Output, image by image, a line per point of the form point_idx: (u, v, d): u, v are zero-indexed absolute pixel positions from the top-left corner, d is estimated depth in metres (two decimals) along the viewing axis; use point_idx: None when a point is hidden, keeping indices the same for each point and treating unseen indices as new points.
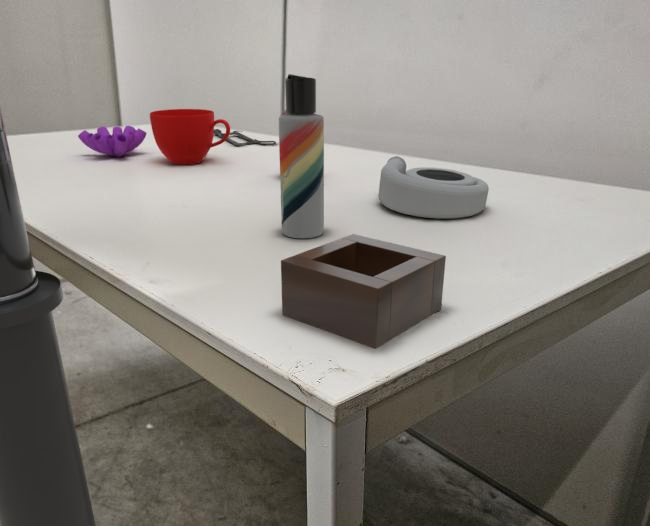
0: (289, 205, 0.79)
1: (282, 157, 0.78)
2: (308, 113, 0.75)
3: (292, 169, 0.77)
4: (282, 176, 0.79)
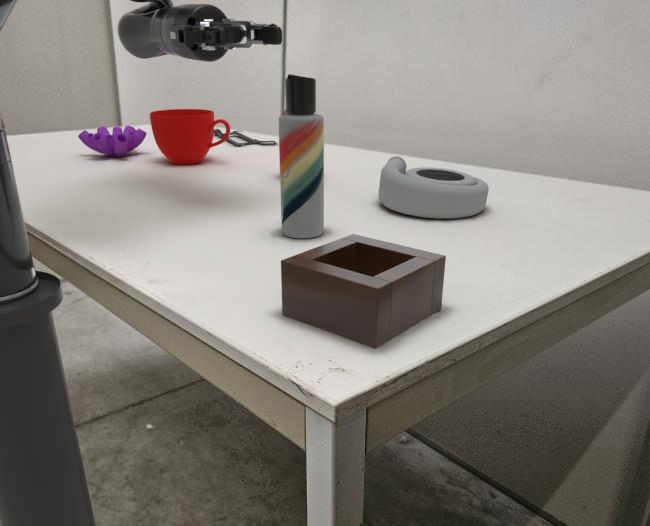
0: (289, 205, 0.79)
1: (282, 157, 0.78)
2: (308, 113, 0.75)
3: (292, 169, 0.77)
4: (282, 176, 0.79)
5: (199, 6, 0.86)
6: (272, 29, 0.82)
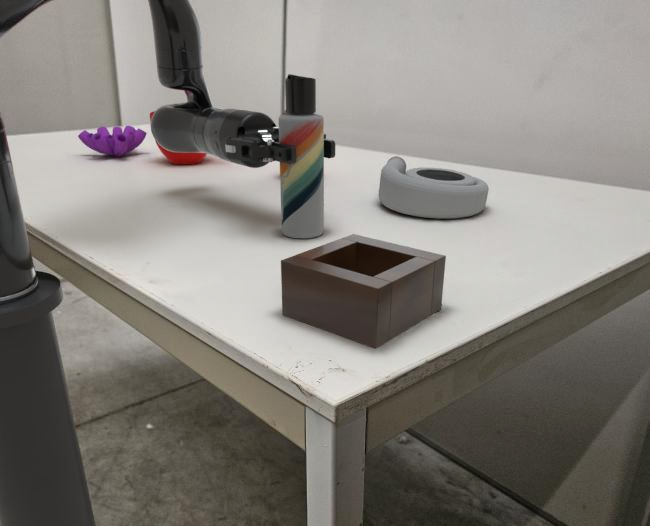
0: (289, 205, 0.79)
1: None
2: (308, 113, 0.75)
3: (292, 169, 0.77)
4: (282, 177, 0.79)
5: (249, 115, 0.83)
6: (325, 142, 0.79)
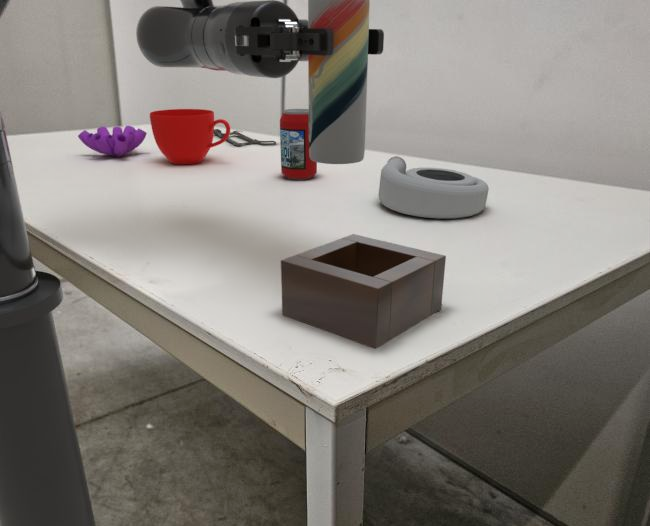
0: (321, 117, 0.59)
1: None
2: None
3: (326, 65, 0.57)
4: (312, 78, 0.58)
5: (265, 2, 0.63)
6: (370, 33, 0.59)
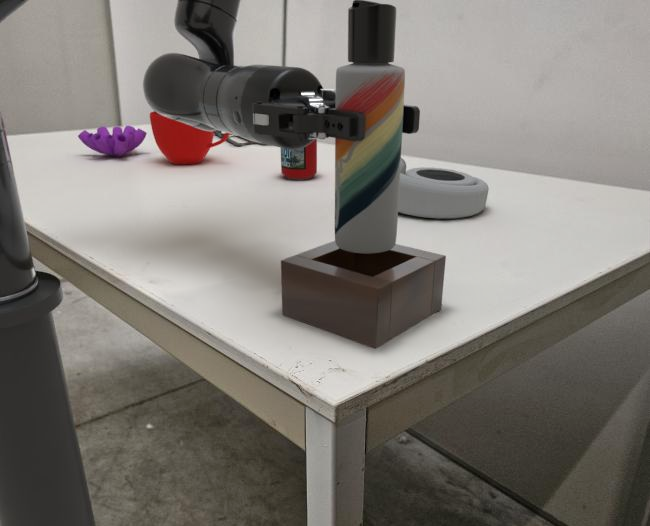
0: (349, 204, 0.53)
1: None
2: (384, 62, 0.49)
3: (356, 149, 0.51)
4: (339, 161, 0.52)
5: (286, 71, 0.57)
6: (404, 110, 0.52)
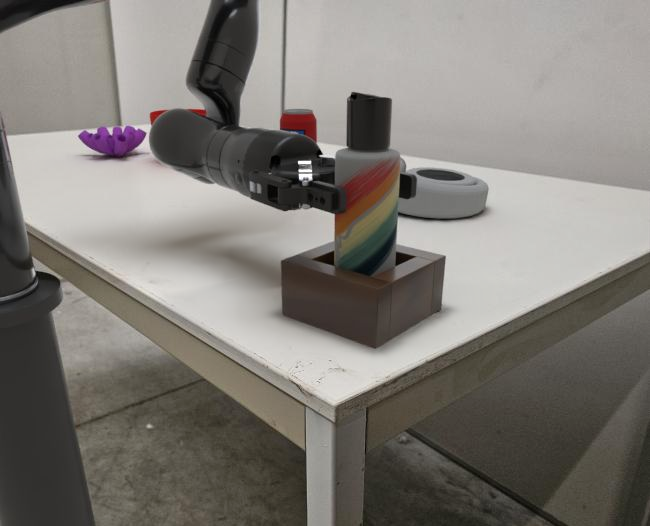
0: None
1: None
2: (380, 149, 0.52)
3: (354, 228, 0.53)
4: (338, 237, 0.55)
5: (286, 138, 0.59)
6: (402, 177, 0.56)
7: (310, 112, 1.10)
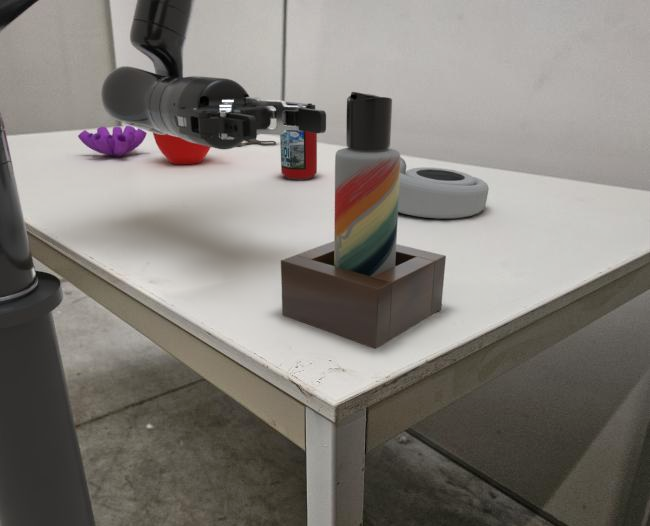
0: None
1: (340, 210, 0.54)
2: (380, 148, 0.52)
3: (354, 228, 0.53)
4: (338, 237, 0.55)
5: (214, 81, 0.66)
6: (313, 113, 0.63)
7: None
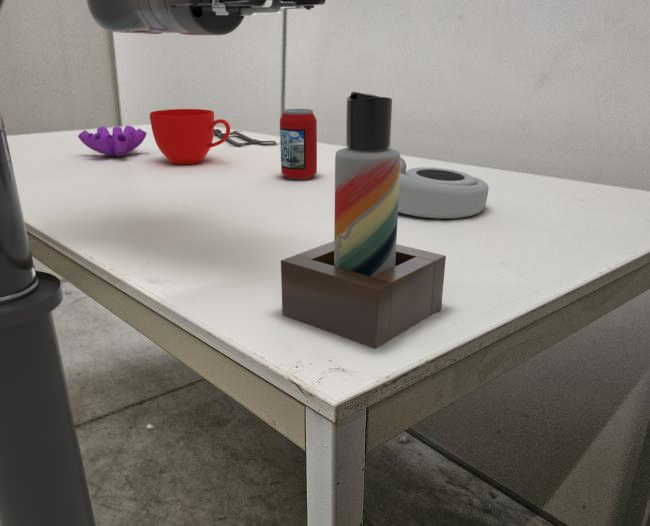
0: None
1: (340, 210, 0.54)
2: (380, 148, 0.52)
3: (354, 228, 0.53)
4: (338, 237, 0.55)
5: None
6: None
7: (310, 112, 1.10)
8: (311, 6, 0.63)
